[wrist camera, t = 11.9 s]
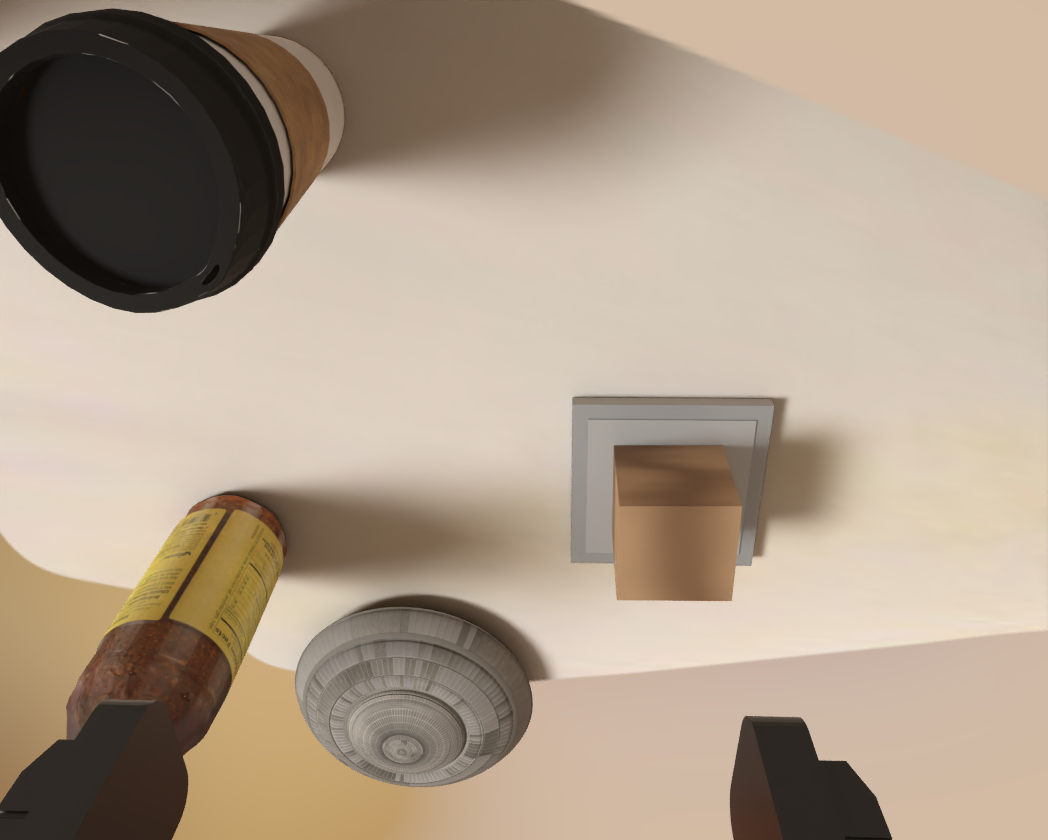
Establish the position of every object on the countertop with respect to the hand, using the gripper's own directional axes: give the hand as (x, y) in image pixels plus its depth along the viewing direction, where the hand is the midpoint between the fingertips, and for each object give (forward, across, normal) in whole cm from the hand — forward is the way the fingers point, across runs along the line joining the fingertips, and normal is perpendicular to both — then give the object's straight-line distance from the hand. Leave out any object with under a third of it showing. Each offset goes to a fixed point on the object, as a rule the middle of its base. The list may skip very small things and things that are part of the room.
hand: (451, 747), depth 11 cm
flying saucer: (+30, +7, +30) cm, 43 cm away
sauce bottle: (+29, +16, +18) cm, 38 cm away
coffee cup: (+30, +11, -5) cm, 32 cm away
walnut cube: (+28, -7, +14) cm, 32 cm away
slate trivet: (+29, -8, +14) cm, 33 cm away
